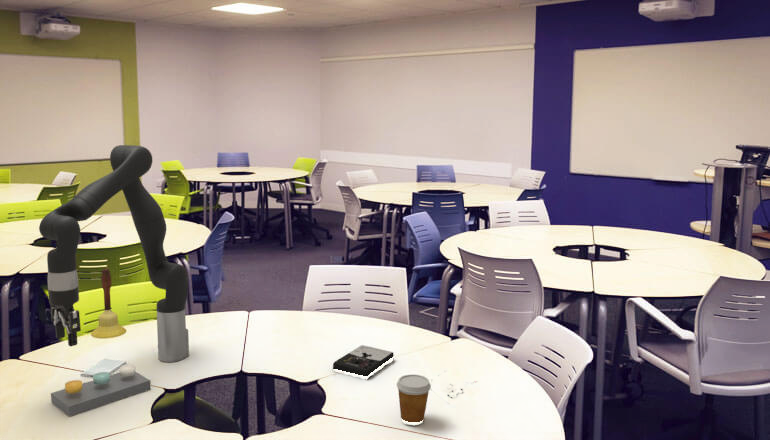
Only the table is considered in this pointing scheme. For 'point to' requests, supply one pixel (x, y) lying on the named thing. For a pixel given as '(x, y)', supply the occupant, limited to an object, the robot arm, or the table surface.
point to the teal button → (101, 378)
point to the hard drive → (104, 367)
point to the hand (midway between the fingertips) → (66, 341)
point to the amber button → (73, 386)
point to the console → (100, 393)
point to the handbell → (107, 313)
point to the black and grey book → (363, 360)
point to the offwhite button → (127, 370)
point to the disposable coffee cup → (413, 397)
